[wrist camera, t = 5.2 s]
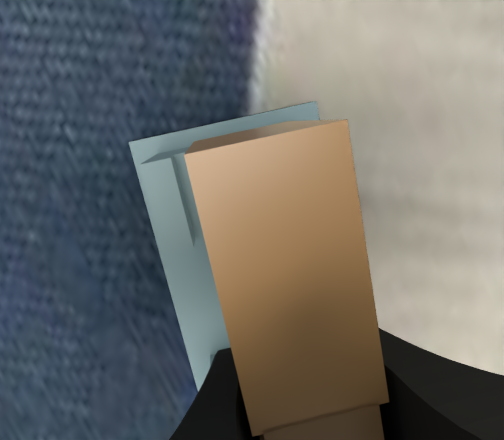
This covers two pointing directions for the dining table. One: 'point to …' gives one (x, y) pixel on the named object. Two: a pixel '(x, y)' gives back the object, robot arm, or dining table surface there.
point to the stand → (192, 228)
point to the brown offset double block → (293, 278)
